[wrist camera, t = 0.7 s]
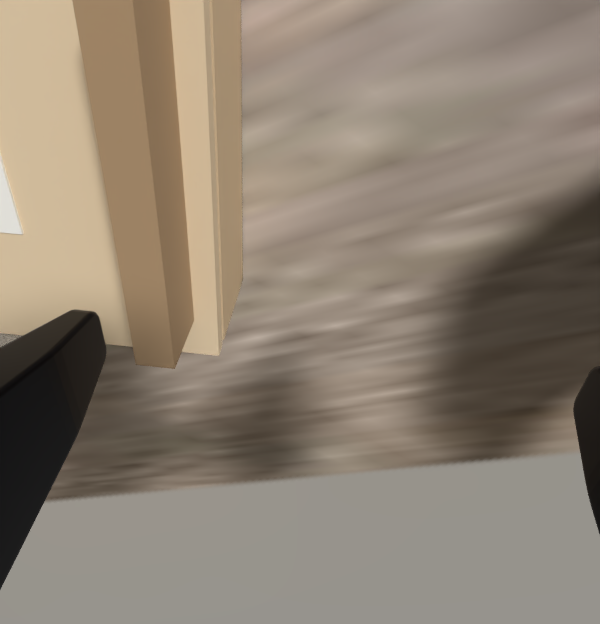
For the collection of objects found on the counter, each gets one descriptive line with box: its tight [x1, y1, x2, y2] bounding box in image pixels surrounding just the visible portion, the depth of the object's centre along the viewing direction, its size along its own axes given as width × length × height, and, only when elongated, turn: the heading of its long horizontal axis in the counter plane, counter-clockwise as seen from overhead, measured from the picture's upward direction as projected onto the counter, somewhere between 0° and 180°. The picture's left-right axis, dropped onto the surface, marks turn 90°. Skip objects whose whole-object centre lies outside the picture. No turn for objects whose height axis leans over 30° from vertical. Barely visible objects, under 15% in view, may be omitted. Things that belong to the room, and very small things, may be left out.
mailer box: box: [209, 0, 243, 340], centre depth 17 cm, size 14×13×4 cm
